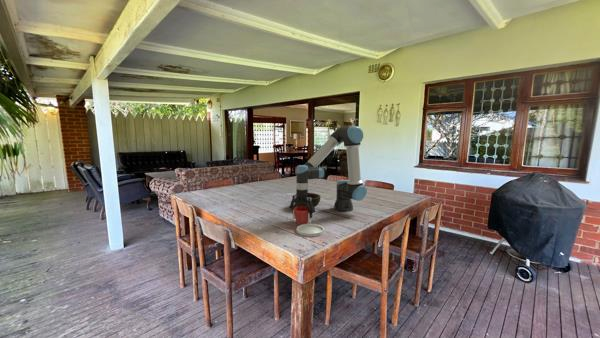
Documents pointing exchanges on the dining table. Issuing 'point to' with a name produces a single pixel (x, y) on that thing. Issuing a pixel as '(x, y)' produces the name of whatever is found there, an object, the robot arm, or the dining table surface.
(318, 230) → the saucer
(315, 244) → the dining table surface
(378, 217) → the dining table surface
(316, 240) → the dining table surface
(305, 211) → the flower pot
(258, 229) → the dining table surface
